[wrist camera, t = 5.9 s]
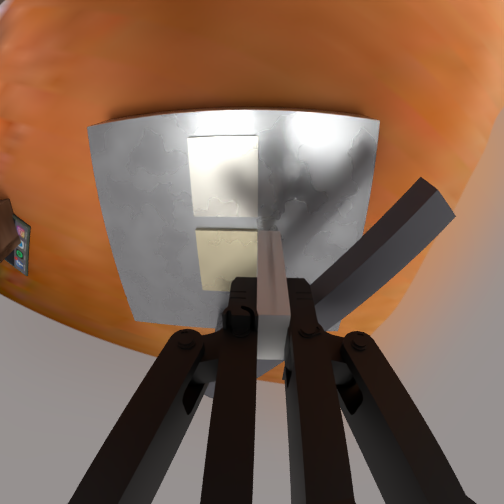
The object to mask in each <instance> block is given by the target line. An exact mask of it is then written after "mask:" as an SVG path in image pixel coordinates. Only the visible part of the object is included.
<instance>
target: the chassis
mask: <svg viewBox="0 0 504 504" xmlns="http://www.w3.org/2000/svg"><path fill="white" fill-rule="evenodd" d="M379 124H380V121H379V120H376V119H373V118H370V117H367V116H364V115H358V114H350V113H343V112H334V111H324V110H313V109H299V108H279V107H221V108H201V109H187V110H175V111H166V112H157V113H149V114H142V115H135V116H129V117H122V118H117V119H111V120H107V121H104V122H101V123H98V124H94V125H91V126H88V127H87V130H88V138H89V145H90V152H91V158H92V164H93V170H94V176H95V181H96V186H97V191H98V196H99V201H100V205H101V210H102V214H103V218H104V222H105V226H106V230H107V234H108V238H109V242H110V245H111V249H112V253H113V256H114V259H115V263H116V266H117V269H118V273H119V276H120V279H121V282H122V285H123V288H124V291H125V294H126V297H127V300H128V303H129V305H130V308H131V311H132V314H133V316H134V319H135V321H141V322H150V323H159V324H169V325H179V326H191V327H204V328H216V329H215V332H217V331H219V330H220V329H221V328H222V327H223V322H222V313H223V311H224V309H226V308H227V307H228V302H229V295H230V287H231V283H232V281H233V280H234V279H235V278H236V277H256V275H257V247H258V230H261V231H280V234H281V241H282V249H283V256H284V264H285V271H286V278H305V280H306V281H307V282H308V283H309V284H310V285H311V284H312V283H313V282H314V281H315V280H316V279H317V278H318V277H319V276H321V275H322V274H323V273H324V272H325V271H326V270H327V269H328V268H329V267H330V266H332V265H333V264H334V263H335V262H336V261H337V260H338V259H339V258H340V257H341V256H342V255H343V254H344V253H345V252H347V251H348V250H349V249H350V248H351V247H352V246H353V245H354V244H355V243H356V242H357V241H358V240H359V239H360V238H361V237H362V235H363V230H364V225H365V220H366V215H367V210H368V204H369V198H370V193H371V186H372V180H373V173H374V167H375V159H376V151H377V143H378V134H379ZM340 322H341V320H340V321H339V322H338V323H336V324H335V325H334V326H332V327H331V328H330V329H328V330H327V331H338V328H339V325H340Z"/></svg>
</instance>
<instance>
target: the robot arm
mask: <svg viewBox="0 0 504 504" xmlns="http://www.w3.org/2000/svg"><path fill="white" fill-rule="evenodd" d="M222 322H223V327H222V328H221V329H220V330H219V331H217V332H215V333H211V334H207V335H201V334H200V333H199V332H197V331H195V330H192V329H183V330H179V331H177V332H175V333H174V334H173V335H172V336H171V337H170V339H169V340H168V342H167V343H166V345H165V346H164V348H163V349H162V351H161V353H160V354H159V356H158V357H157V359H156V360H155V362H154V364H153V365H152V367H151V368H150V370H149V371H148V373H147V375H146V376H145V378H144V379H143V381H142V382H141V384H140V385H139V387H138V389H137V390H136V392H135V393H134V395H133V397H132V398H131V400H130V402H129V403H128V405H127V406H126V408H125V409H124V411H123V413H122V414H121V416H120V417H119V419H118V421H117V422H116V424H115V426H114V427H113V429H112V430H111V432H110V434H109V436H108V437H107V439H106V440H105V442H104V444H103V445H102V447H101V449H100V450H99V452H98V454H97V455H96V457H95V459H94V460H93V462H92V464H91V466H90V467H89V469H88V470H87V472H86V474H85V475H84V477H83V479H82V481H81V482H80V484H79V486H78V487H77V489H76V491H75V493H74V495H73V496H72V498H71V499H70V501H69V503H68V504H151V503H152V501H153V498H154V497H155V495H156V493H157V491H158V489H159V487H160V484H161V483H162V481H163V478H164V476H165V474H166V472H167V470H168V468H169V466H170V464H171V462H172V460H173V458H174V456H175V454H176V452H177V450H178V448H179V446H180V444H181V442H182V439H183V437H184V435H185V433H186V431H187V429H188V427H189V425H190V423H191V421H192V418H193V416H194V414H195V412H196V410H197V408H198V406H199V404H200V401H201V399H202V397H203V395H204V393H205V391H206V389H207V387H208V385H209V383H210V382H214V381H216V382H215V390H214V397H213V404H212V412H211V420H210V427H209V436H208V443H207V451H206V459H205V467H204V476H203V485H202V493H201V502H200V504H252V494H253V491H252V490H253V467H254V440H255V410H256V409H255V408H256V378H257V359H266V360H283V359H284V357H285V367H284V372H283V378H282V380H285V391H286V406H287V423H288V440H289V460H290V483H291V504H356V503H355V500H354V493H353V485H352V478H351V471H350V464H349V457H348V450H347V444H346V438H345V432H344V426H343V420H342V415H341V410H342V412H343V414H344V416H345V418H346V420H347V422H348V424H349V426H350V428H351V430H352V433H353V435H354V437H355V439H356V441H357V443H358V445H359V448H360V449H361V452H362V453H363V456H364V458H365V460H366V462H367V464H368V467H369V468H370V471H371V473H372V475H373V477H374V480H375V482H376V484H377V486H378V488H379V490H380V493H381V495H382V497H383V499H384V501H385V503H386V504H476V503H475V502H474V501H473V500H471V499H470V498H468V497H467V496H466V495H465V493H464V491H463V489H462V487H461V485H460V483H459V481H458V479H457V477H456V475H455V473H454V471H453V470H452V468H451V466H450V464H449V462H448V460H447V459H446V457H445V455H444V453H443V451H442V450H441V448H440V446H439V444H438V443H437V441H436V439H435V437H434V436H433V434H432V432H431V430H430V429H429V427H428V425H427V424H426V422H425V420H424V418H423V417H422V415H421V413H420V412H419V410H418V409H417V407H416V405H415V404H414V402H413V400H412V399H411V397H410V395H409V394H408V392H407V391H406V389H405V387H404V386H403V384H402V383H401V381H400V380H399V378H398V376H397V375H396V373H395V372H394V370H393V369H392V367H391V366H390V364H389V363H388V361H387V360H386V358H385V356H384V355H383V353H382V352H381V350H380V349H379V347H378V346H377V344H376V343H375V341H374V340H373V339H372V338H371V337H370V336H369V335H368V334H366V333H364V332H360V331H354V332H350V333H348V334H347V335H346V336H345V337H339V336H335V335H332V334H329V333H327V332H325V331H324V329H323V327H322V326H321V325H320V324H319V323H318V320H317V316H316V311H315V306H314V301H313V297H312V294H311V288H310V284H309V283H308V282H307V281H306V280H305V278H286V271H285V264H284V256H283V249H282V241H281V234H280V231H261V230H258V247H257V275H256V277H236V278H235V279H234V280H233V281H232V283H231V287H230V295H229V302H228V307H227V308H226V309H224V311H223V313H222ZM340 408H341V409H340Z"/></svg>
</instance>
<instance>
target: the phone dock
mask: <svg viewBox="0 0 504 504" xmlns="http://www.w3.org/2000/svg"><path fill="white" fill-rule="evenodd" d="M12 215H13V211H12V207H11V204H10V200H9V199H6V200H0V263H1V262H2V261H3V260H4V259H5V258H6V257H7V256H8V255H9V254H10V253H11V252H12V251H13V250H14V249H15V248H16V247H17V246H18V245H19V244H20V243H21V240H20V237H19V235H18V232H17V229H16V226H15V223H14V220H13V216H12Z"/></svg>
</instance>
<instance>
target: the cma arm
mask: <svg viewBox="0 0 504 504" xmlns="http://www.w3.org/2000/svg"><path fill="white" fill-rule="evenodd" d="M455 217H456V216H455V215H454V213H453V211H452V210H451V208H450V207H449V205H448V204H447V202H446V201H445V199H444V198H443V196H442V195H441V194H440V192H439V191H438V190H437V189H436V188H435V187H434V186H432V185H431V184H430V183H428V182H427V181H426V180H424V179H423V178H422V177H420V178H419V179H418V180H417V181H416V182H415V183H414V184H413V186H412V187H411V188H410V189H409V190H408V191H407V192H406V193H405V194H404V195H403V196H402V197H401V198H400V199H399V200H398V201H397V202H396V203H395V204H394V205H393V206H392V207H391V208H390V209H389V210H388V211H387V212H386V213H385V215H384V216H383V217H382V218H381V219H380V220H379V221H378V222H377V223H375V224H374V225H373V226H372V227H371V228H370V229H369V230H368V231H367V232H366V233H365V234H364V235H363V236H362V237H361V238H360V239H359V240H358V241H357V242H356V243H355V244H354V245H353V246H352V247H351V248H350V249H349V250H348V251H347V252H345V253H344V254H343V255H342V256H341V257H340V258H339V259H338V260H337V261H336V262H335V263H334V264H333V265H332V266H330V267H329V268H328V269H327V270H326V271H325V272H324V273H323V274H322V275H321V276H319V277H318V278H317V279H316V280H315V281H314V282H313V283H312V284H311V285H310V288H311V294H312V297H313V301H314V306H315V311H316V316H317V320H318V323H319V324H320V325H321V326H322V327H323V329H324V331H325V332H326V331H327V330H328V329H330V328H331V327H332V326H334V325H335V324H336V323H338V322H339V321H340V320H342V319H343V318H344V317H345V316H347V315H348V314H349V313H351V312H352V311H353V310H354V309H356V308H357V307H358V306H359V305H361V304H362V303H363V302H364V301H366V300H367V299H368V298H369V297H370V296H372V295H373V294H374V293H375V292H376V291H378V290H379V289H380V288H381V287H382V286H383V285H385V284H386V283H387V282H388V281H389V280H390V279H391V278H393V277H394V276H395V275H396V274H397V273H398V272H399V271H400V270H402V269H403V268H404V267H405V266H406V265H407V264H408V263H409V262H410V261H411V260H412V259H414V258H415V257H416V256H417V255H418V254H419V253H420V252H421V251H422V250H423V249H424V248H425V247H426V246H427V245H428V244H429V243H430V242H431V241H432V240H433V239H434V238H435V237H436V236H437V235H438V234H439V233H440V232H441V231H442V230H443V229H444V228H445V227H446V226H447V225H448V224H449V223H450V222H451V221H452V220H453V219H454V218H455ZM284 360H285V357H284V359H283V360H266V359H257V378H258V377H260V376H261V375H263V374H264V373H266V372H268V371H269V370H271V369H272V368H274V367H275V366H277V365H278V364H280V363H281V362H283V361H284ZM215 382H216V381H214V382H210V383H209V385H208V387H207V389H206V391H205V393H204V394H205V395H206V396H208V397H210V398H213V397H214V390H215Z"/></svg>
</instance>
